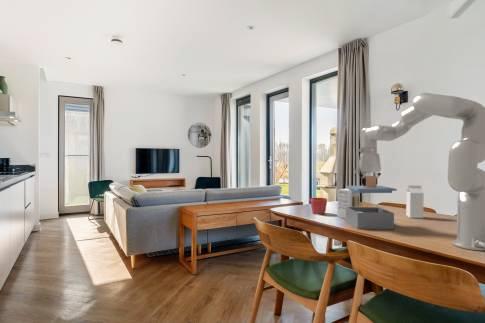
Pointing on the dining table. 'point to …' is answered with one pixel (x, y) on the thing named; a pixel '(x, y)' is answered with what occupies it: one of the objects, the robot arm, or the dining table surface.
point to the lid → (371, 187)
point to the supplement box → (346, 201)
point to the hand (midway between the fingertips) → (369, 185)
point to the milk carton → (414, 202)
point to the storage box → (369, 218)
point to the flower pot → (318, 205)
